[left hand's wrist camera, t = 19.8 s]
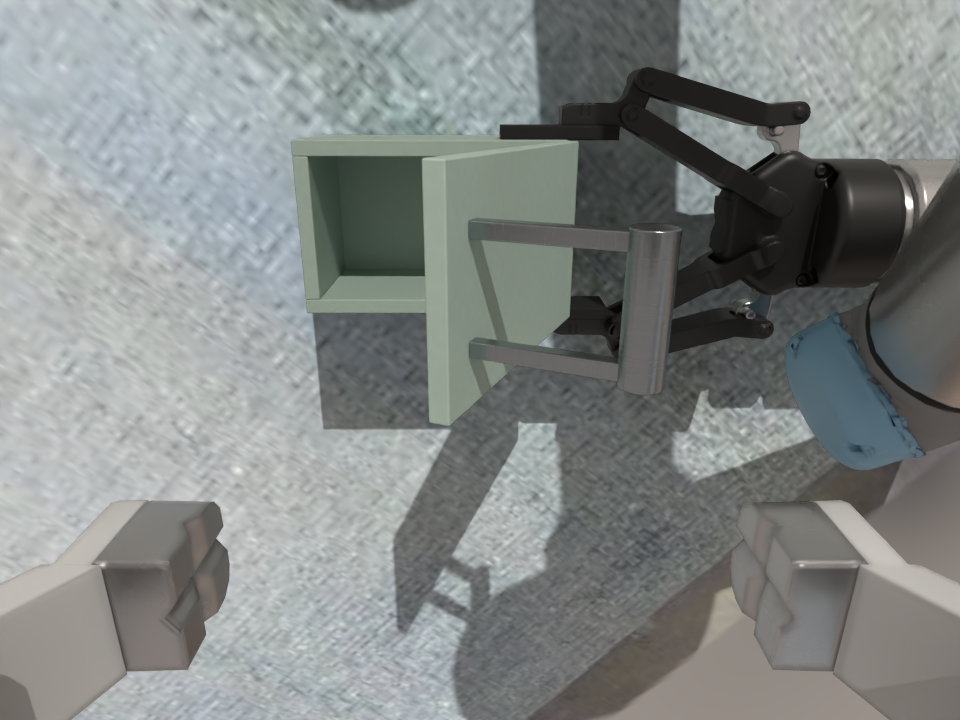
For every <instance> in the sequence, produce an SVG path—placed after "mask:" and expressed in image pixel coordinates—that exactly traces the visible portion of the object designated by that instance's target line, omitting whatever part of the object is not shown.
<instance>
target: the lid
mask: <svg viewBox="0 0 960 720" xmlns="http://www.w3.org/2000/svg"><path fill="white" fill-rule="evenodd" d="M578 147H579V142H578V141H559V142H551V143H542V144H534V145H526V146H518V147H510V148H501V149H493V150H485V151H477V152H469V153H460V154H452V155H444V156H436V157H428V158H423V159H422V188H423V224H424V260H425V295H426V331H427V367H428V403H429V422H430V423H434V424H439V425H444V426H450V425H451V424H452V423H453V422H455V421H456V420H457V419H458V418H459V417H460V416H461V415H462V414H463V413H464V412H466V411H467V410H468V409H469V408H470V407H471V406H472V405H473V404H474V403H475V402H477V401H478V400H479V399H480V398H481V397H482V396H483V395H484V394H485V393H486V392H487V391H489V390H490V389H491V388H492V387H493V386H494V385H495V384H496V383H497V382H498V381H500V380H501V379H502V378H503V377H504V376H505V375H506V374H507V373H508V372H509V371H511V370H512V369H513V368H514V367H515V366H523V367H529V368H535V369H541V370H548V371H554V372H560V373H566V374H572V375H579V376H585V377H591V378H597V379H604V380H610V381H616V384H617V387H618V388H619V389H621V390H623V391H625V392H628V393H631V394H636V395H654V394H658V393H660V392H662V391H663V390H664V387H665V378H666V369H667V360H668V351H669V342H670V333H671V324H672V315H673V306H674V297H675V288H676V279H677V270H678V261H679V252H680V243H681V234H682V229H681V228H680V227H678V226H675V225H669V224H660V223H640V224H634V225H631V226H630V227H629V228H617V227H602V226H588V225H574V223H575V204H576V185H577V166H578ZM573 248H580V249H592V250H604V251H616V252H627V259H626V271H625V283H624V295H623V307H622V320H621V332H620V344H619V356H618V358H616V357H609V356H602V355H595V354H589V353H582V352H575V351H568V350H561V349H554V348H548V347H541V346H538V345H539V344H540V343H541V342H542V341H543V340H545V339H546V338H547V337H548V336H549V335H550V334H551V333H552V332H553V331H554V330H555V329H557V328H558V327H559V326H560V325H561V324H562V323H563V322H564V321H565V320H566V319H568V318H569V316H570V298H571V279H572V261H573Z"/></svg>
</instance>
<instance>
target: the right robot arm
mask: <svg viewBox="0 0 960 720" xmlns="http://www.w3.org/2000/svg"><path fill="white" fill-rule="evenodd" d="M649 97H651V98H654V99H657V100H661V101H664V102H667V103H671V104H674V105H677V106H680V107H684V108H687V109H690V110H694V111H697V112H700V113H704V114H707V115H710V116H713V117H717V118H720V119H723V120H727V121H730V122H733V123H737V124H741V125H747V126H757V134H758V136H759V138H760V139H762V140H766V141H769V142H771V143H772V144H773V146H774V152H773V153H771V154H770V155H768V156H767V157H765V158H764V159H762V160H761V161H759V162H758V163H756V164H755V165H753V166H752V167H750V168H749V169H748V170H744V169H742V168H741V167H739V166H737V165H735V164H733V163H731V162H729V161H727V160H726V159H724V158H723V157H721V156H719V155H718V154H716V153H715V152H713V151H711V150H710V149H708V148H707V147H705V146H703V145H702V144H700V143H699V142H697V141H695V140H694V139H692V138H691V137H689V136H687V135H686V134H684V133H683V132H681V131H679V130H678V129H676V128H675V127H673V126H671V125H670V124H668V123H667V122H665V121H663V120H662V119H660V118H659V117H657V116H655V115H654V114H652V113H651V112H649V111H647V110H646V109H645V107H646V104H647V102H648V99H649ZM810 113H811V111H810V107H809V105H808V104H807V103H806V102H801V101H797V102H776V103H765V102H761V101H758V100H755V99H752V98H748V97H745V96H742V95H739V94H735V93H732V92H729V91H726V90H722V89H719V88H716V87H713V86H709V85H706V84H703V83H700V82H696V81H693V80H690V79H687V78H683V77H680V76H677V75H674V74H670V73H667V72H664V71H661V70H657V69H654V68H649V67H646V68H642V69H639V70H635V71H633V72H632V73H630V74H629V76H628V78H627V84H626V87H625V89H624V92H623V94H622V96H621V97H620V99H619V100H617V101H616V102H614V103H568V104H566V105H563V106H561V107H559V125H500V139H501V140H619V130H620V126H621V127H622V128H624V129H626V130H627V131H629V132H631V133H632V134H634V135H635V136H637V137H639V138H640V139H642V140H644V141H645V142H647V143H648V144H650V145H652V146H653V147H655V148H657V149H658V150H660V151H661V152H663V153H665V154H666V155H668V156H670V157H671V158H673V159H674V160H676V161H678V162H679V163H681V164H683V165H684V166H686V167H687V168H689V169H691V170H692V171H694V172H696V173H697V174H699V175H700V176H702V177H703V178H704V179H706V180H707V181H709V182H710V183H712V184H714V185H715V186H717V187H719V188H720V189H722V190H721V192H720V194H719V196H715V204H714V213H715V220H716V222H715V225H714V227H713V230H712V232H711V236H710V244H709V247H710V248H712V251H710V252H708V253H706V254H704V255H702V256H700V257H698V258H697V259H696V260H695V261H694V262H693V263H692V264H690V265H688V266H687V267H685V268H683V269H681V270H679V271H677V279H676V288H675V297H674V306H673V309H674V308H676V307H678V306H680V305H682V304H684V303H686V302H688V301H690V300H692V299H694V298H696V297H698V296H700V295H702V294H704V293H706V292H708V291H710V290H712V289H719V288H723V287H725V286H727V285H729V284H731V283H733V282H735V281H737V280H739V279H741V280H742V281H743V282H745V283H746V284H747V285H748V286H750V287H751V288H752V289H753V291H752V293H751V294H750V296H748V297H747V298H745V299H739V300H737V301H735V302H734V303H733V304H732V308H717V309H712V310H708V311H704V312H700V313H696V314H692V315H688V316H684V317H680V318H676V319H672V324H671V333H670V342H669V351H668V353H671V352H675V351H679V350H683V349H687V348H691V347H695V346H699V345H703V344H707V343H711V342H715V341H719V340H723V339H727V338H731V337H747V338H759V339H763V338H767V337H769V336H770V335H771V334H772V333H773V330H774V326H773V324H772V323H771V322H770V321H769V320H768V317H769V313H770V309H771V305H772V301H773V297H774V295H776V294H779V293H781V292H783V291H785V290H787V289H790V288H795V287H865V286H868V285H871V286H873V287H876V288H875V289H874V291H873V292H872V294H871V295H870V297H869V298H868V300H867V302H866V303H864V304H863V305H861V306H859V307H857V308H855V309H852V310H850V311H847V312H844V313H840V314H838V312H836V313H835V314H830V315H829V317H828V318H827V319H825V320H823V321H821V322H819V323H817V324H815V325H813V326H811V327H809V328H807V329H804V330H802V331H800V332H799V333H797V334H796V335H794V336H793V337H792V338H791V339H790V341H789V342H788V344H787V347H786V350H785V368H786V374H787V378H788V381H789V385H790V388H791V390H792V393H793V396H794V398H795V400H796V403H797V405H798V407H799V409H800V411H801V413H802V415H803V417H804V419H805V420H806V422H807V424H808V426H809V427H810V429H811V431H812V432H813V434H814V435H815V437H816V438H817V440H818V441H819V442H820V444H821V445H822V446H823V447H824V449H825V450H826V451H827V452H828V453H829V454H830V455H831V456H832V457H833V458H834V459H836V460H837V461H838V462H840V463H842V464H843V465H845V466H847V467H850V468H852V469H855V470H871V469H874V468H878V467H881V466H884V465H888V464H891V463H894V462H898V461H901V460H904V459H907V458H919V457H922V456H925V455H926V453H925V452H927V451H930V450H933V449H936V448H939V447H941V446H944V445H947V444H950V443H953V442H955V441H958V440H960V156H959V158H958V159H890V160H887V161H885V162H884V161H882V160H879V159H811V158H809V157H807V156H805V155H804V154H802V153H801V152H798V147H799V136H800V124H803V123H804V122H806V121H807V119H808V118H809V116H810ZM622 307H623V299H622V300H620V301H618V302H617V303H615V304H613V305H611V306H609V307H607V308H606V306H605V305H604V303H603V302H602V300H601V299H600V297H599V296H571V298H570V316H569V318H568V319H566V320H565V321H564V322H563V323H562V324H561V325H560V326H559V327H558V328H557V329H555V330H554V331H553V332H555V333H558V334H598V335H603V336H604V337H606V340H607V345H608V347H609V349H610V351H611V353H612V354H613V356H614V357H616V358H618V356H619V344H620V332H621V320H622Z"/></svg>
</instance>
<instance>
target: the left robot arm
mask: <svg viewBox="0 0 960 720" xmlns="http://www.w3.org/2000/svg"><path fill="white" fill-rule="evenodd" d="M222 528H223V521H222V516H221V511H220V507H219V506H218V505H217V504H216V503H215V502H196V501H148V500H127V501H116V502H112V503H111V504H110V505H109V506H108V507H107V508H106V509H105V510H104V511H103V512H102V513H101V514H100V515H99V516H98V517H97V518H96V519H95V520H94V521H93V522H92V523H91V524H90V525H89V526H88V528H87V529H86V530H85V531H84V532H83V533H82V534H81V535H80V536H79V537H78V538H77V539H76V540H75V541H74V542H73V543H72V544H71V545H70V546H69V547H68V548H67V549H66V550H65V551H64V553H63V554H62V555H61V556H60V557H59V558H58V559H57V560H56V561H55V562H54V563H53V564H52V565H39V566H37V567H35V568H33V569H31V570H29V571H27V572H24V573H22V574H20V575H18V576H16V577H14V578H12V579H9V580H7V581H5V582H3V583H1V584H0V720H71V719H73V718H74V717H75V716H76V715H77V714H79V713H80V712H81V711H82V710H84V709H85V708H86V707H87V706H89V705H90V704H91V703H92V702H94V701H95V700H96V699H97V698H98V697H100V696H101V695H102V694H103V693H105V692H106V691H107V690H108V689H110V688H111V687H112V686H113V685H115V684H116V683H117V682H118V681H120V680H121V679H122V678H123V677H124V676H126V675H127V672H126V671H158V670H187V669H188V668H189V666H190V664H191V662H192V660H193V658H194V656H195V654H196V653H197V651H198V649H199V647H200V645H201V643H202V641H203V640H204V638H205V636H206V630H205V625H204V621H206V620H207V619H209V618H210V617H212V616H213V615H215V614H216V613H217V612H218V611H219V609H220V607H221V605H222V603H223V601H224V599H225V596H226V591H227V587H228V582H229V557H228V550H227V549H226V548H225V547H224V546H223V545H222V544H221V543H220V542H219V541H218V540H217V539H216V537H217V536H218V534H219V533H220V531H221V529H222ZM737 528H738V529H739V531H740V533H741V534H742V536H743V538H744V539H743V540H742V541H741V542H740V543H739V544H738V545H737V546H736V547H735V548H734V549H733V550H732V558H731V566H730V572H731V582H732V589H733V592H734V595H735V599H736V601H737V603H738V605H739V607H740V609H741V611H742V612H743V613H744V614H745V615H747V616H748V617H750V618H751V619H753V620H754V621H756V625H755V630H754V636H755V638H756V640H757V641H758V643H759V645H760V647H761V649H762V651H763V653H764V654H765V656H766V658H767V660H768V662H769V664H770V666H771V667H772V669H773V670H802V671H834V672H833V675H835V676H836V677H837V678H838V679H840V680H841V681H842V682H843V683H844V684H846V685H847V686H848V687H849V688H851V689H852V690H853V691H854V692H856V693H857V694H858V695H859V696H861V697H862V698H863V699H864V700H865V701H867V702H868V703H869V704H870V705H872V706H873V707H874V708H875V709H877V710H878V711H879V712H880V713H882V714H883V715H884V716H885V717H886V718H888V719H889V720H960V584H959V583H957V582H955V581H953V580H950V579H948V578H946V577H944V576H942V575H940V574H938V573H936V572H933V571H931V570H929V569H927V568H925V567H923V566H921V565H908V564H907V563H906V562H905V561H904V560H903V559H902V558H901V557H900V556H899V555H898V554H897V553H896V551H895V550H894V549H893V548H892V547H891V546H890V545H889V544H888V543H887V542H886V541H885V540H884V539H883V538H882V537H881V536H880V535H879V534H878V533H877V532H876V531H875V530H874V528H873V527H872V526H871V525H870V524H869V523H868V522H867V521H866V520H865V519H864V518H863V517H862V516H861V515H860V514H859V513H858V512H857V511H856V510H855V509H854V508H853V507H852V506H851V504H849V503H847V502H845V501H842V500H826V501H806V502H763V503H743V505H742V507H741V509H740V511H739V515H738V520H737Z"/></svg>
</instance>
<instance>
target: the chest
mask: <svg viewBox="0 0 960 720" xmlns="http://www.w3.org/2000/svg"><path fill="white" fill-rule="evenodd" d="M559 141H569V140H501V139H500V135H321V136H314V137H307V138H301V139H294V140H291V150H292V156H293V157H292V159H293V170H294V180H295V191H296V201H297V212H298V222H299V233H300V243H301V254H302V264H303V275H304V285H305V296H306V307H307V313H426V295H425V260H424V224H423V188H422V159H423V158H428V157H436V156H444V155H452V154H460V153H469V152H477V151H485V150H493V149H501V148H510V147H518V146H526V145H534V144H542V143H551V142H559Z"/></svg>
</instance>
